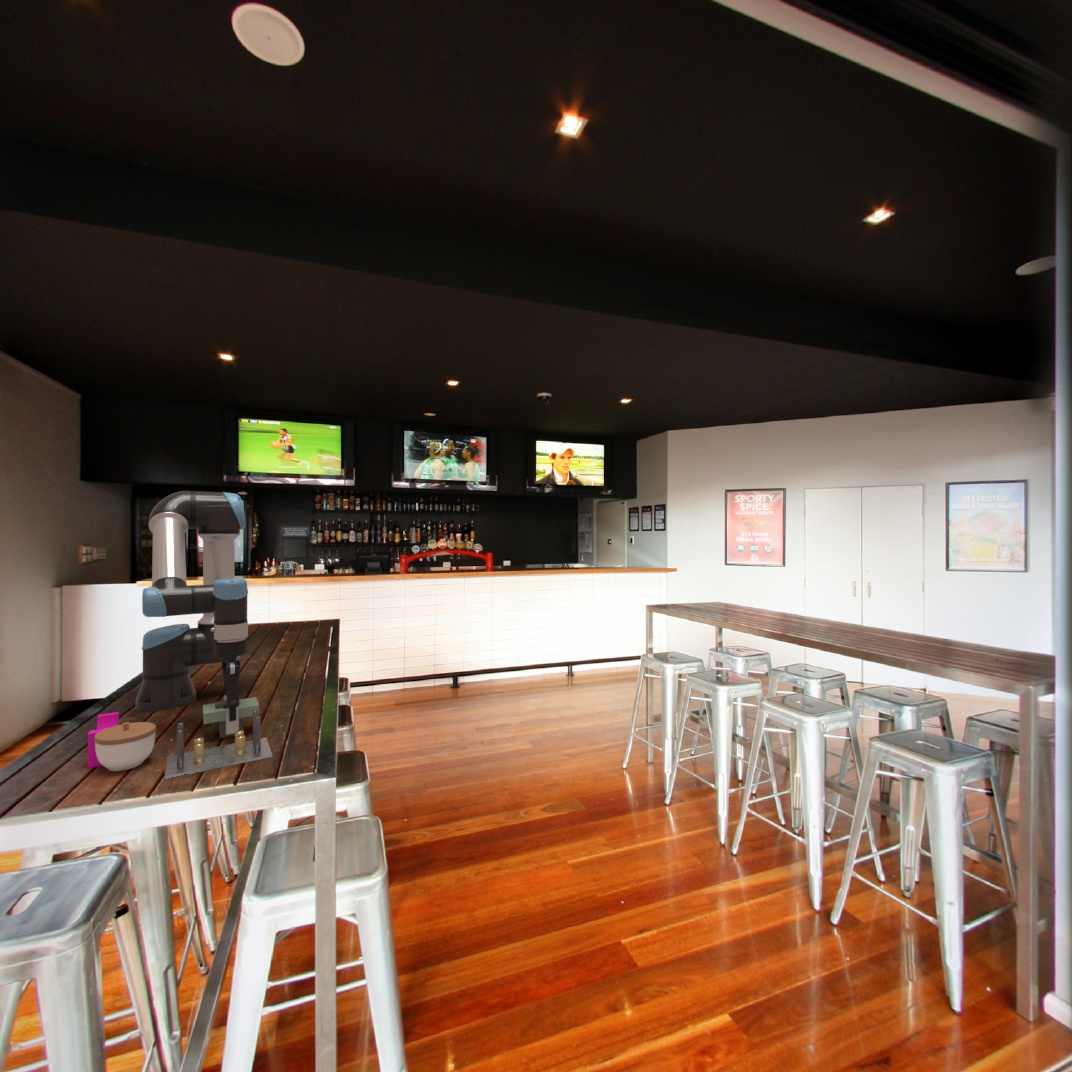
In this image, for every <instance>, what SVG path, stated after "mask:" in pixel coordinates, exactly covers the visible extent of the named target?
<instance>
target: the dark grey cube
mask: <svg viewBox="0 0 1072 1072" xmlns="http://www.w3.org/2000/svg"><path fill="white" fill-rule="evenodd" d="M218 723H219V727H218V728H219V729H218V730H219V731H218V732H219V739H227V738H232V737H235V733H233V734H227V735H226V721H220V722H218ZM239 730H244V718H239Z"/></svg>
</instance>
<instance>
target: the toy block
mask: <svg viewBox="0 0 1072 1072" xmlns="http://www.w3.org/2000/svg"><path fill="white" fill-rule="evenodd" d="M119 715H120V712H119V711H116V712H110V713H109V712H108V713H101V714H98V716H97V725H96V729H92V730H89V732H88V733H87V769H90V768H96V767H100V766H103V765H102V764H101V763H100V762H99V761H98V759H97V756H96V751H95V740H94V738H95V735H96V734H97V733H98V732H100V731H102V730H104V729H107V728H110V727H113V726H117V725H120V723H119V722H120V716H119Z"/></svg>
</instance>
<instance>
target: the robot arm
mask: <svg viewBox="0 0 1072 1072" xmlns="http://www.w3.org/2000/svg"><path fill="white" fill-rule="evenodd" d="M245 515H246V514H245V510H244V504H243V501H242V498H241V496H240V495H239V494H237V493H232V492H225V491H222V492H220V491H219V492H218V491H217V492H216V491H190V490H181V491H177V492H173V493H171V494H169V495H167V496H165V497H164V498H162V499H161V500H160V501H159V502H158V503H156V505H155V506H154V507H153V508H152V509H151V512H150V514H149V518H148V529H149V531H150V532H151V533H152V558H151V559H152V562H151V563H152V566H151V567H152V568H151V570H152V571H151V572H152V573H151V574H152V575H151V577H152V578H151V586H150V587H145V588H143V589H142V596H141V597H142V598H141V599H142V601H141V602H142V604H141V606H142V610H141V611H142V615H143V616H144V617H146V618H161V617H162V618H164V617H172V616H173V617H174V616H186V615H199V614H203V615H202V617H201V618H200V619H198V621H197V627H190V625H189V623H176V624H171V625H166V626H165V625H164V626H160V627H156V628H154V629H150V630H148V631H147V632H146V633H145V634H144V635H143V637H142V647H141V650H142V682H141V685H140V688H139V690H138V693H137V696H136V698H135V702H134V705H135V710H136V711H139V712H160V711H167V710H166V709H168V710H173V709H177V708H176V707H178V708H181V706H182V707H185V706H187V705H186V704H188V705H190V704H192V703H194V702H195V701H196V700H197V691H196V688H195V686H194V684H193V681H192V679H191V677H190V667H194V666H195V667H196V666H202V665H203V666H204V665H211V664H212V665H213V664H219V663H221V671H222V677H223V694H224V695H223V701H224V700H227V705H225V706H223V709H226V735H227V734H233V733H235V732H236V731H238V730H239V704H240V702H239V699H240V696H239V695H240V693H239V692H240V690H239V686H240V685H239V681H240V678H241V677H240V676H241V675H240V670H241V662H240V660H239V659H240V658H241V656H244V655H246V654H247V653H248V652H249V651H248V649H249V648H248V645H249V644H248V643H249V642H248V641H249V640H248V639H247V638H248V636H249V621H248V594H249V590H248V581H247V580H246V579H245V578H238V577H237V578H235V574H236V573H235V572H236V571H235V566H236V565H235V541H236V539H237V538H238V537H239V536H240V535H241V530H244V529H245V528H246V517H245ZM188 529H189V530H196V531H197V532H196V534H197V536H198V537H199V538H200V539H202V560H203V561H202V563H203V564H202V577H203V580H202V581H203V583H202V584H198V585H195V584H194V585H187V563H186V536H185V533H187V531H188ZM230 701H235V702H230ZM184 705H185V706H184Z"/></svg>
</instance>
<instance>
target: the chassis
mask: <svg viewBox="0 0 1072 1072" xmlns="http://www.w3.org/2000/svg"><path fill="white" fill-rule="evenodd" d="M261 717H262V716H260V715H258V710H254V711H253V716H252V739H251V740H246V735H245V730H244V729H243V730H238V731H236V732H235V736H234V742H233V743H229V744H223V745H219V746H214V747H209V748H205V746H204V745H205V744H204V742H205V740H204V737H202V736H200V737H195V738H194V739H193V750H192V751H186V752H185V723H184V721H181V722H177V723H176V724H177V727H176V728H177V729H176V753H175V754H169V755H167V756H166V763H165V764H166V765H165V771H164V780H168V778H169V779H172V778H171V777H174V778H178V777H177V776H179V777H182V776H181V775H183V776H185V775H184V774H188V775H192V774H197V773H196V772H198V773H202V772H207V771H211V770H216V769H220V768H221V769H222V768H226V767H231V766H235V765H240V764H244V763H249V762H253V761H259V760H265V759H269V758H272V757H273V753H272V752H273V751H271V748H270V743H269V742H268V738H267V737H262V734H261V733H262V731H261V729H262V728H261V721H262V720H261ZM261 737H262V738H261Z"/></svg>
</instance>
